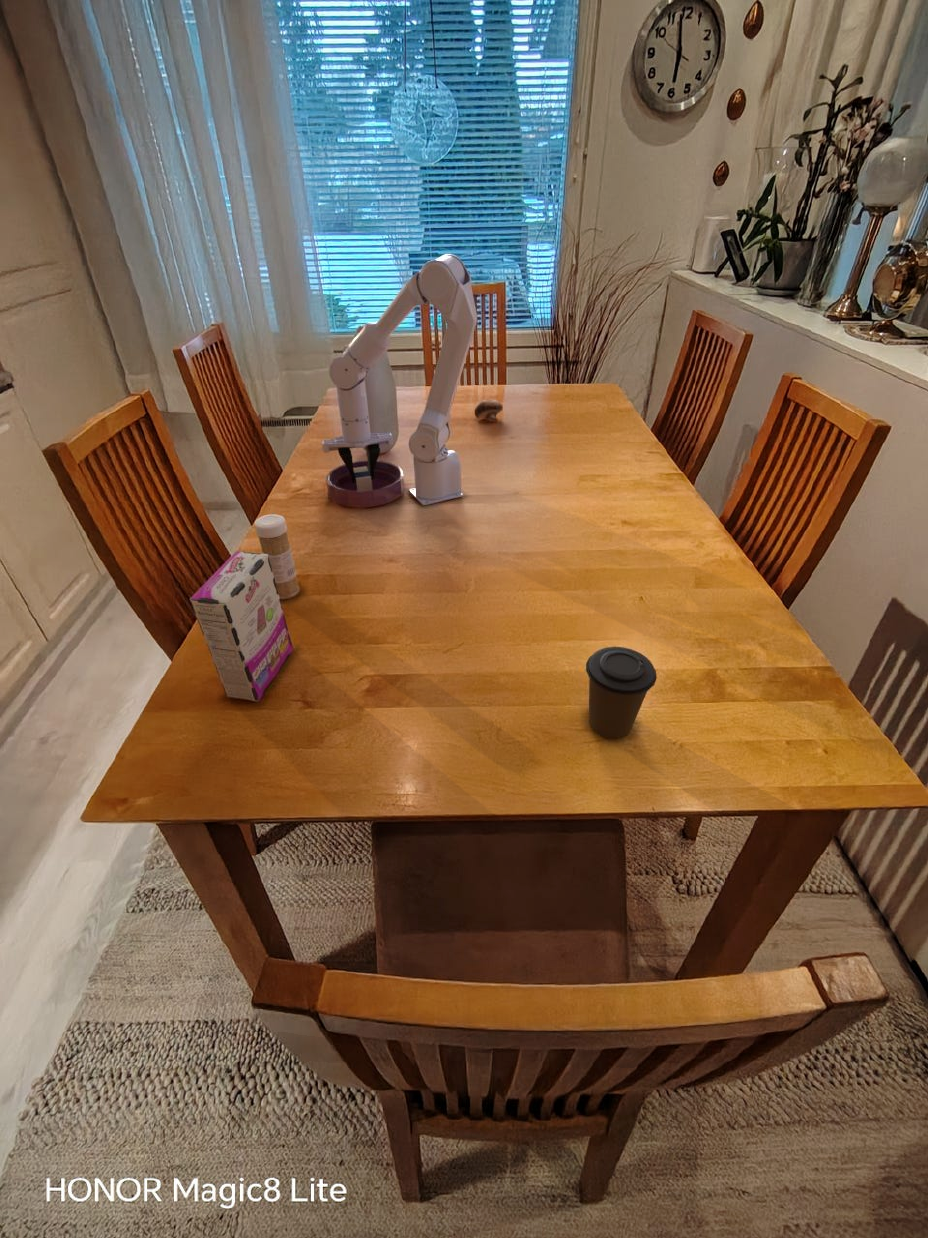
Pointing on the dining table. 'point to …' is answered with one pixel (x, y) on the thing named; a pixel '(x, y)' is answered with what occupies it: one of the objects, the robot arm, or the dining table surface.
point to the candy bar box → (243, 624)
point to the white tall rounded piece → (382, 400)
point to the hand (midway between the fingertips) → (362, 479)
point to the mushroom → (488, 410)
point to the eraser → (362, 479)
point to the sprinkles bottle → (278, 553)
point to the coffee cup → (617, 689)
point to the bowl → (384, 490)
